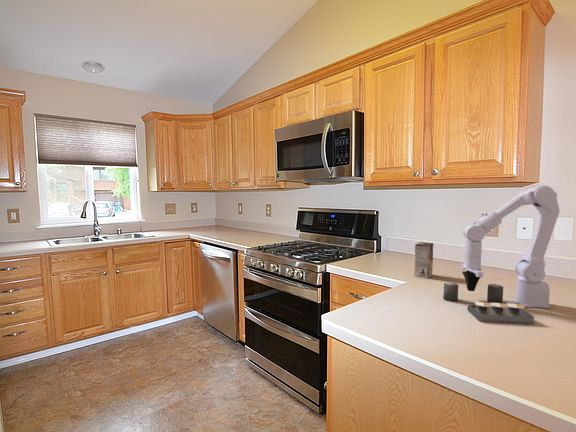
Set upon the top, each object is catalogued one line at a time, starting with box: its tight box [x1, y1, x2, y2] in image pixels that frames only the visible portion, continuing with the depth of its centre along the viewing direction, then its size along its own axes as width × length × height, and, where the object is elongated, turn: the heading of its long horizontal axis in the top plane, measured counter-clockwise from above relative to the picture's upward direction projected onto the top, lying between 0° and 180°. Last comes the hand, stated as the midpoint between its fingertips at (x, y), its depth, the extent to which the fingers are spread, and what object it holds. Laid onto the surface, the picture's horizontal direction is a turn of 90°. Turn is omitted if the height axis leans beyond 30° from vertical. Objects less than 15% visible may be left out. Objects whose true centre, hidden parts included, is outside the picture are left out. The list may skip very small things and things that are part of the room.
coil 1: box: [442, 281, 459, 303], centre depth 127 cm, size 5×5×6 cm
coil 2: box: [486, 283, 504, 304], centre depth 125 cm, size 5×5×6 cm
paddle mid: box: [491, 302, 508, 308], centre depth 110 cm, size 6×2×1 cm, turn 172°
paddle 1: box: [475, 301, 491, 307], centre depth 111 cm, size 6×2×1 cm, turn 172°
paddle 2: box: [506, 302, 526, 309], centre depth 110 cm, size 6×2×1 cm, turn 172°
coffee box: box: [414, 241, 434, 279], centre depth 162 cm, size 9×6×16 cm
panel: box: [466, 302, 535, 325], centre depth 110 cm, size 16×10×3 cm, turn 82°
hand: (470, 290), depth 128 cm, fingers closed
